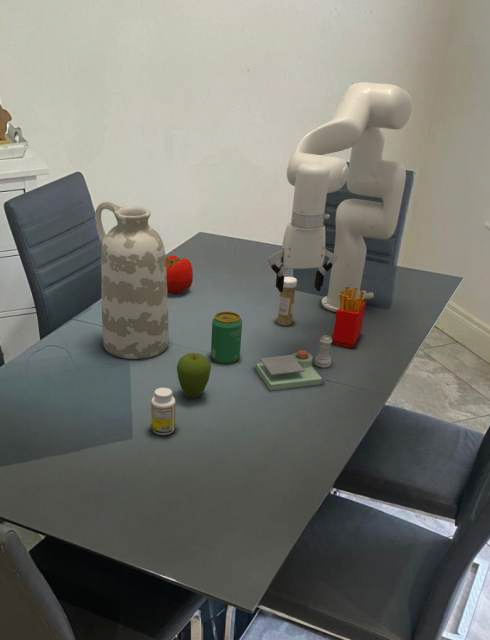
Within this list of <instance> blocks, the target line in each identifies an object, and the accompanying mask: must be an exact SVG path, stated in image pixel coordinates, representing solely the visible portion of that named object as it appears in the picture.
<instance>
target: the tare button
mask: <svg viewBox="0 0 490 640" xmlns="http://www.w3.org/2000/svg"><path fill="white" fill-rule="evenodd" d="M297 352H298V355H297V358H298V359H302V360H304V359H307V355H308V354H309V352H308V351H307V350H305V349H299V350H298V351H297Z"/></svg>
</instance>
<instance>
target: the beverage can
mask: <svg viewBox="0 0 490 640" xmlns="http://www.w3.org/2000/svg"><path fill="white" fill-rule="evenodd" d="M242 331H243V320H242V318H241V315H240V314H239V313H237V312H233V311H219V312H217V313H216V314H215V315H214V317H213V318H212V321H211V339H210V340H211V342H210V357H211V358H212V360H213V361H214V362H216V363H218V364H223V365H229V364H233V363H236V362H237V361H238V360H239V358H240V357H241V345H242Z"/></svg>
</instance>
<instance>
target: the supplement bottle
mask: <svg viewBox="0 0 490 640" xmlns="http://www.w3.org/2000/svg"><path fill="white" fill-rule="evenodd" d="M150 407H151V408H150V409H151V430H152V432H154V433H155V434H157V435H161V436H167V435H170V434H172V433H174V431H175V430H176V398H175V397H174V396H173V391H172V389H170V388H168V387H159V388H156V389H155V390H154V396H153V397H152V398H151V401H150Z"/></svg>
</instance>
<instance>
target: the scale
mask: <svg viewBox="0 0 490 640" xmlns="http://www.w3.org/2000/svg"><path fill="white" fill-rule="evenodd" d="M291 355H293V356H294V358H295V359H296V360H297V361H298V363H299V364H300V365H301V366H302V368H303V369H304V370H305V372H296V373H288V374H279V375H271V374H270V373H269V371H268V370H267V368H266V367H265V366H264V364H263V363H262V362H258V363H257V362H256V363H255V367H254V368H255V371H256V372H257V374H258V375H259V376H260V378H261V379H262V381H263V382H264V384H265V385H266V386H267V388H268V389H269V391H277V390H283V389H293V388H294V389H295V388H303V387H310V386H318V385H319V386H320V385H322V382H323V377H321V375H320V374H319V373H318V372H317V370H316V369H315V368H314V367H313V366H312V364H313V359H314V356H313V355H312V354H311V353H308V355H307V359H304V360H302V359H298V358H297V355H298V351H297V352H296V351H295V352H294V353H292V354H291Z"/></svg>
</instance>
